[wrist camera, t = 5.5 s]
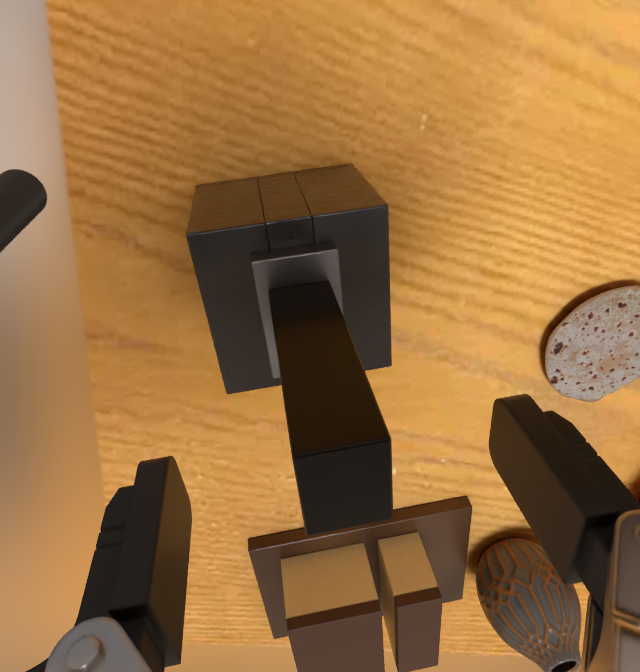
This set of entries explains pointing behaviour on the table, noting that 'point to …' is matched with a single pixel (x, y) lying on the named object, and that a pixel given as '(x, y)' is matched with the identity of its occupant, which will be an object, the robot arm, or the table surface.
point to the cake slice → (409, 602)
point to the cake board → (370, 550)
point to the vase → (530, 604)
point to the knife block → (285, 232)
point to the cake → (333, 611)
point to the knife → (323, 390)
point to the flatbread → (596, 346)
